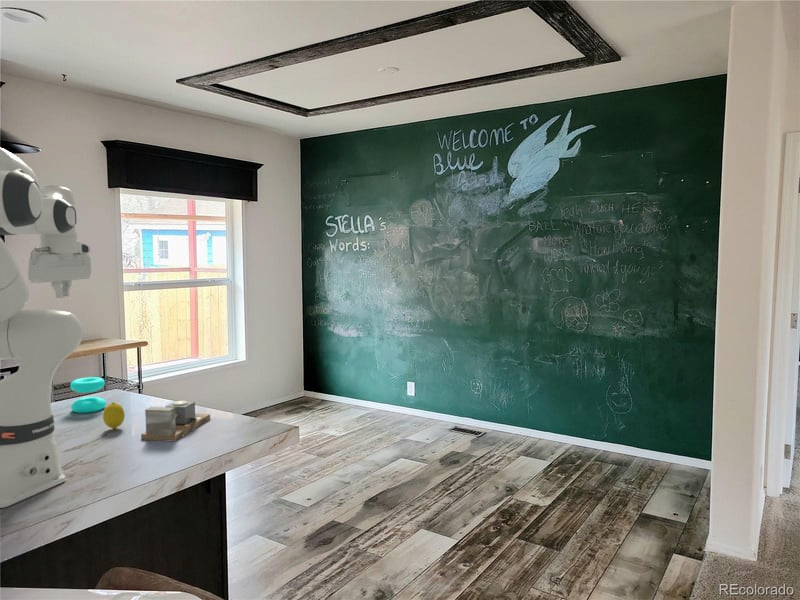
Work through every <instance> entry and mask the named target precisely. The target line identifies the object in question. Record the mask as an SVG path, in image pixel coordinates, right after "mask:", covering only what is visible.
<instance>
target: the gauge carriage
mask: <svg viewBox="0 0 800 600" xmlns="http://www.w3.org/2000/svg"><path fill="white" fill-rule="evenodd" d="M164 407H172V408H175V424H186V423H188V422H190V421H191V420H195V421H196V420H197V418H195V413H196V402H195V401H186V400H175V401H173V402H172V403H170V404H168V405H166V406H164Z"/></svg>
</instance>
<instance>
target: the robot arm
mask: <svg viewBox="0 0 800 600" xmlns="http://www.w3.org/2000/svg"><path fill="white" fill-rule="evenodd" d="M39 182H40V181H39V179H38V176H37V174H36V173H35V172H34V170H33V169H32V168H31V167H30V166H28V164H26V163H25V162H24V161H23V160H22V159H20V157H18V156H17V155H15V154H14V153H12V152H10V151H9V150H7V149H6V148H2V147H0V235H1V236H16V235H39V236H40V237H39V238H40V246H38V247H34V248H33V249H32V250H31V251H30V257H29V259H28V271H27V273H28V274H27V275H28V277H27V278H28V280H29V281H30V283H31V284H32V283H35V284H40V283H42V284H43V283H51V287H52V288H53V290H54V292H55V298H57V299H63V298H69V296H70V289H71V287H72V281H77V280H88V279H90V278H91V275H92V261H91V257H90V253H91V247H90V246H89V245H88V244H86V243H84V242H82V241H80V240H79V239H78V237H79V236H78V233H77V230H76V228H77V227H76V226H77V221H78V219H77V218H78V217H77V208H76V202H75V197H74V193H73V191H72V190H71V189H69V188H67V187H63V186H58V185H47V186H43V187H40V183H39ZM29 295H30V291H29V287H28V284H27V282H26V281H25V278H24V275H23V274H22V271H21V268H20V267H19V265H18V263H17V260H16V258H15V257H14V255H13V253H12V252H11V250H10V248H9V246H8V245H7V244H6V243H5V242H4V239H2V237H0V361H3V360H4V361H6V360H18V362H19V365H18V366H19V367H18V369H17V371H16V372H13V373H12V374H9V375H7V376H6V377H4V378H2V379H0V509H1V508H7V507H10V506H12V505H14V504H17V503H19V502H21V501H23V500H26V499H28V498H30V497H33V496H35V495H37V494H39V493H41V492H44V491H46V490H49V489H50V488H53V487H55V486H57V485H59V484H62V483H64V482H66V481H67V479H66V475H65V474H64V471H63V470H62V466H61V459H60V452H59V448H58V444H57V442H56V439H55V437H54V431H55V423H56V422H55V419H54V415H53V413H52V384H53V383H52V382H53V379H54V376H55V374H56V371H57V369H58V368H59V366H60V365H61V363H63V361H65V359H66V358H68V357H69V356H70V355H72V354H73V353H74V352H75V351H77V349H78V347H79V346H80V344H81V343H82V340H83V334H84V332H83V331H84V330H83V325H82V323H81V321H80V320H79V318H78V317H77V316H76V315H75V314H74V313H72V312H69V311H65V310H58V309H51V308H50V309H48V308H46V309H45V308H44V309H23V308H24V307H25V306H26V304H27V303H28V300H29Z"/></svg>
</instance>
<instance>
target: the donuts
mask: <svg viewBox="0 0 800 600" xmlns="http://www.w3.org/2000/svg"><path fill="white" fill-rule="evenodd" d="M105 384H106V382H105V379H104V378H102V377H98V376H97V377H96V376H88V377H81V378H77V379H74V380H73V381H71V382H70V384H69V385H70V390H72V391H73V392H76V393H92V392H97V391H100V390H101V389H102V388H104V387H105ZM70 407H71V410H72V411H73V412H75V413H77V414H89V413H94V412H99V411H101V410H103V409H105V408H106V407H107V402H106V400H105V399H104V398H102V397H98V396H88V397H87V396H86V397H81V398H79V399H76V400H74V401H73V402H72V404H71V405H70Z"/></svg>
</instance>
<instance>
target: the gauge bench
mask: <svg viewBox="0 0 800 600" xmlns="http://www.w3.org/2000/svg"><path fill="white" fill-rule="evenodd" d="M144 413H145V431H144V432H142V433H141V436H140V437H141V438H140V440H141V439H144V440H143V441H145V440H146V441H161V440H173V441H172V442H177V441H178V440H179V438H180V437H181V438H182V436H183V435H184V436H186V435H187V434H189V433H190V432H192V431H193V430H192V429H194V428H195V429H196V427H197V426H198V427H200V426H201V425H203V424H205V423H206V422H208V421H209V420H210V419H211V413H197V412H195V418H197V420H196V421H195V420H191V421H190V422H188V423H186V424H175V408H172V407H165V406H164V407H163V406H150V407H148V408H145V410H144ZM207 420H208V421H207ZM202 423H203V424H202ZM199 425H200V426H199ZM198 427H197V428H198ZM195 429H194V430H195ZM191 430H192V431H191ZM189 431H190V432H189ZM188 432H189V433H188ZM186 433H187V434H186ZM185 434H186V435H185ZM184 436H183V437H184ZM181 438H180V439H181ZM177 439H178V440H177Z"/></svg>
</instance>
